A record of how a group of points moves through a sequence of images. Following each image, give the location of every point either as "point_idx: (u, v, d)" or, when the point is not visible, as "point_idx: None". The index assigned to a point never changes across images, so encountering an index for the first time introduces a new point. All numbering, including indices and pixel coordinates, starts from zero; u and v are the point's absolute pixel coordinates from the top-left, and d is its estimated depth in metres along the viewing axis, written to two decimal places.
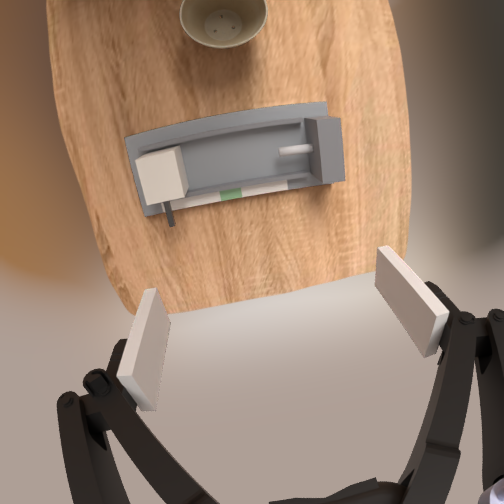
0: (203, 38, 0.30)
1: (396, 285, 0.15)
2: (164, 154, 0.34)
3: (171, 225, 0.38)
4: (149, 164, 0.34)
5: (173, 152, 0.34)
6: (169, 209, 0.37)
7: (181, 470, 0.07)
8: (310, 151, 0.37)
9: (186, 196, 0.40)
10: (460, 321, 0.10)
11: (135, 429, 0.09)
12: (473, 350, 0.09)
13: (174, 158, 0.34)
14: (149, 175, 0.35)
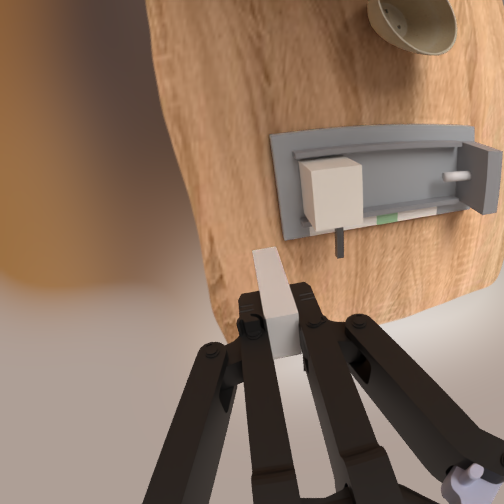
0: (379, 31, 0.23)
1: None
2: (350, 168, 0.26)
3: (340, 256, 0.30)
4: (329, 179, 0.26)
5: (360, 167, 0.26)
6: (342, 237, 0.29)
7: (286, 438, 0.08)
8: (468, 179, 0.29)
9: None
10: (309, 326, 0.12)
11: (266, 382, 0.10)
12: (338, 348, 0.11)
13: (360, 175, 0.26)
14: (327, 193, 0.27)
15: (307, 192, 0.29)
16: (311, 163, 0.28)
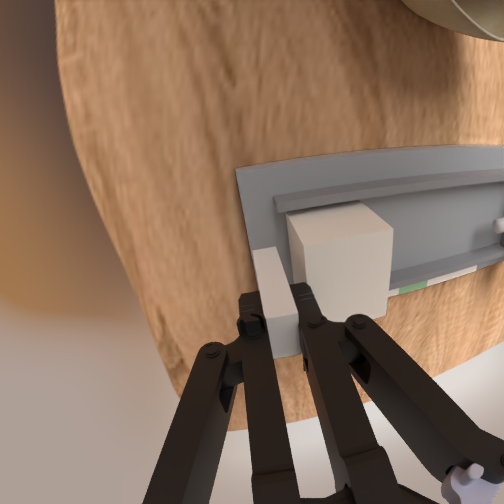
0: (413, 0, 0.12)
1: None
2: (373, 236, 0.15)
3: None
4: (337, 256, 0.15)
5: (391, 232, 0.15)
6: None
7: (286, 438, 0.08)
8: None
9: None
10: (309, 326, 0.12)
11: (266, 382, 0.10)
12: (337, 348, 0.11)
13: (390, 245, 0.15)
14: (331, 279, 0.16)
15: (298, 269, 0.18)
16: (306, 220, 0.17)
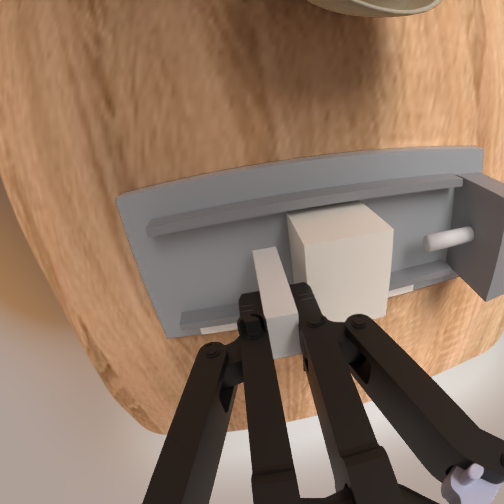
0: None
1: None
2: (373, 236, 0.15)
3: None
4: (337, 256, 0.15)
5: (391, 233, 0.15)
6: None
7: (286, 438, 0.08)
8: (469, 241, 0.18)
9: None
10: (309, 326, 0.12)
11: (266, 382, 0.10)
12: (337, 348, 0.11)
13: (390, 245, 0.15)
14: (331, 279, 0.16)
15: (298, 268, 0.18)
16: (306, 220, 0.17)
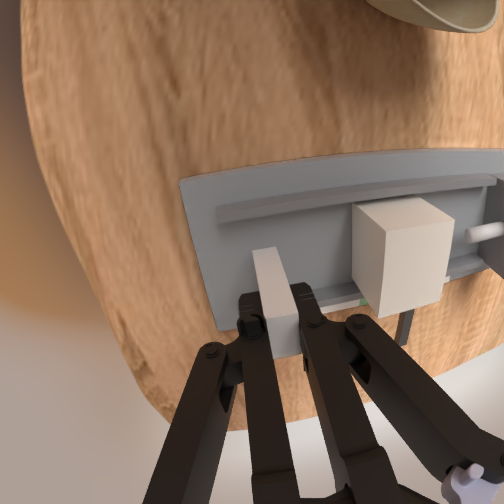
0: None
1: None
2: (439, 225, 0.15)
3: (401, 344, 0.19)
4: (410, 243, 0.15)
5: (452, 223, 0.15)
6: (410, 321, 0.18)
7: (286, 438, 0.08)
8: (501, 235, 0.18)
9: None
10: (309, 326, 0.12)
11: (266, 382, 0.10)
12: (338, 348, 0.11)
13: (451, 234, 0.15)
14: (403, 264, 0.16)
15: (367, 256, 0.18)
16: (376, 210, 0.17)
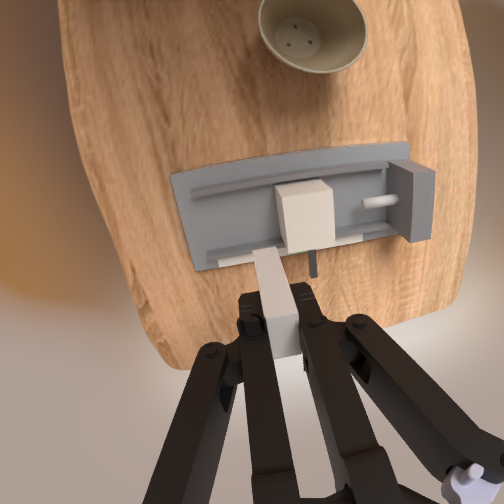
0: (278, 53, 0.25)
1: None
2: (320, 193, 0.28)
3: (313, 276, 0.32)
4: (300, 204, 0.28)
5: (331, 192, 0.28)
6: (315, 258, 0.31)
7: (286, 438, 0.08)
8: (395, 203, 0.31)
9: (251, 252, 0.34)
10: (309, 326, 0.12)
11: (266, 382, 0.10)
12: (338, 348, 0.11)
13: (332, 199, 0.28)
14: (298, 217, 0.29)
15: (281, 215, 0.31)
16: (284, 187, 0.30)
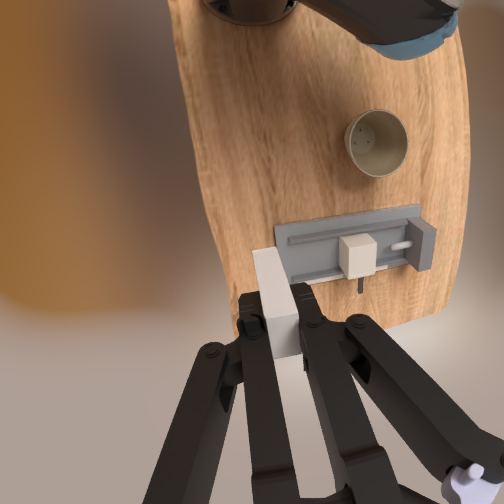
0: None
1: None
2: (370, 245, 0.46)
3: (360, 292, 0.50)
4: (358, 251, 0.46)
5: (376, 244, 0.46)
6: (362, 282, 0.49)
7: (286, 438, 0.08)
8: (410, 246, 0.49)
9: (321, 277, 0.52)
10: (309, 326, 0.12)
11: (266, 382, 0.10)
12: (338, 348, 0.11)
13: (375, 248, 0.46)
14: (356, 259, 0.47)
15: (344, 256, 0.49)
16: (347, 239, 0.48)
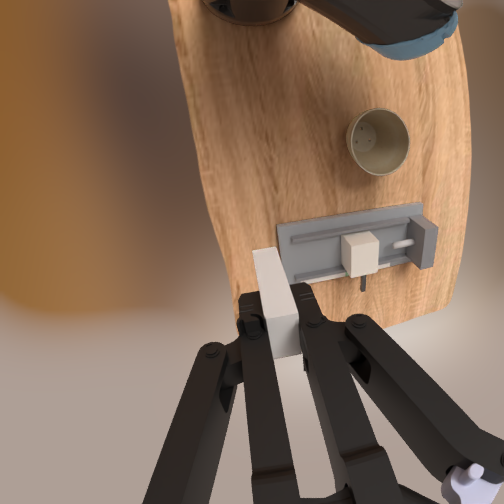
0: None
1: None
2: (372, 243, 0.46)
3: (363, 290, 0.50)
4: (361, 250, 0.46)
5: (378, 242, 0.46)
6: (365, 280, 0.49)
7: (286, 438, 0.08)
8: (412, 244, 0.49)
9: (324, 275, 0.52)
10: (310, 326, 0.12)
11: (266, 382, 0.10)
12: (338, 348, 0.11)
13: (378, 246, 0.46)
14: (358, 257, 0.47)
15: (346, 254, 0.49)
16: (349, 237, 0.48)
